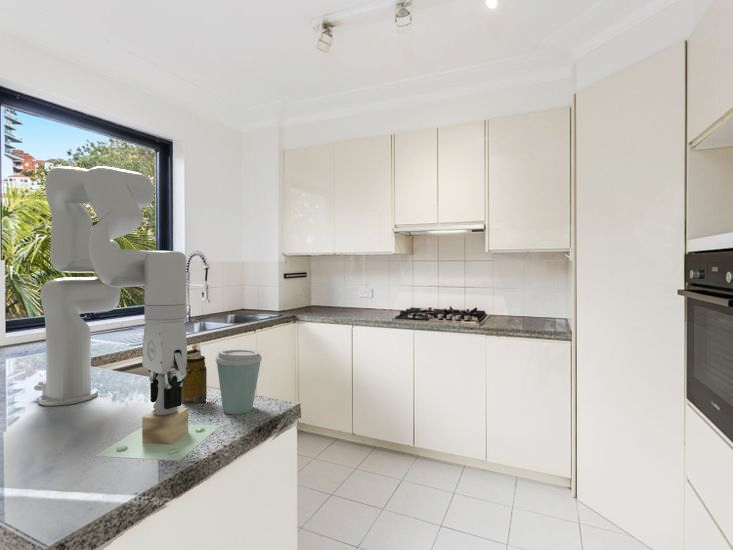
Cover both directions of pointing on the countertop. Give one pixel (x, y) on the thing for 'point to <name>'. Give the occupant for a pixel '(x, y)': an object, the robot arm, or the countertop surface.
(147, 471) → the countertop surface
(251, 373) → the disposable coffee cup
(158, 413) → the rook chess piece
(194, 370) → the condiment
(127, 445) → the build plate
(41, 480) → the countertop surface
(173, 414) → the oak brick
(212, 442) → the countertop surface
